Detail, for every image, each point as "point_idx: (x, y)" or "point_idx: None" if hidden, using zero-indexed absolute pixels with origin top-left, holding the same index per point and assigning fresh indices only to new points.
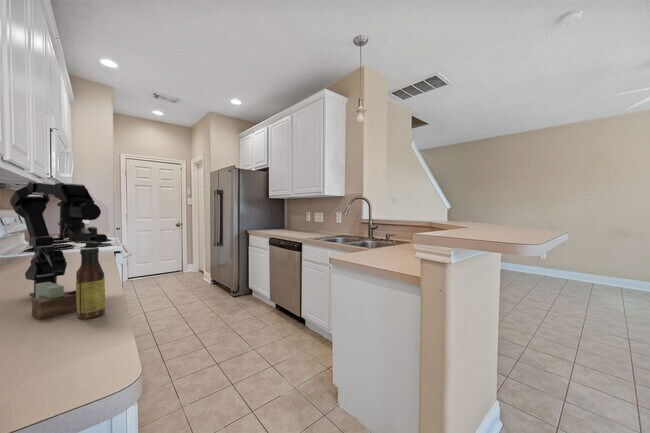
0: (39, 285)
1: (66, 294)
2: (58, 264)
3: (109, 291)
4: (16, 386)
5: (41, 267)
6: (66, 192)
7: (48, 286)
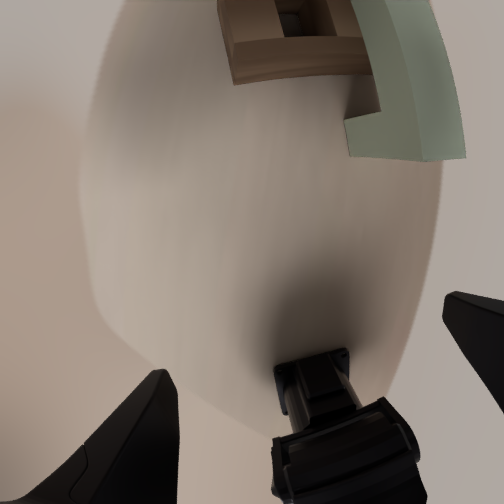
0: (457, 101)
1: (334, 6)
2: (324, 464)
3: (106, 250)
4: None
5: (400, 428)
6: None
7: (428, 24)
